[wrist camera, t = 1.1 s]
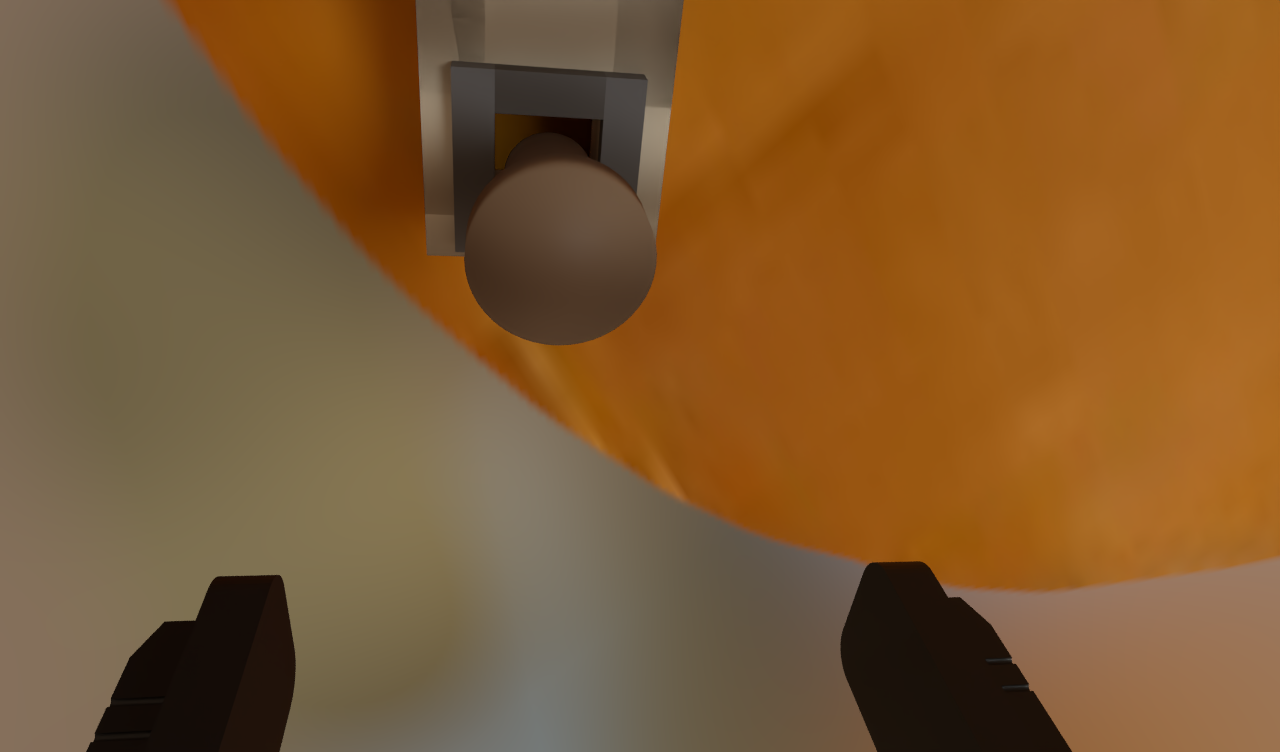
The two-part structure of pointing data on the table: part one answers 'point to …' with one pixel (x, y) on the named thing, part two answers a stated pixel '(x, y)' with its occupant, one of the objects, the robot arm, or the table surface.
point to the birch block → (540, 91)
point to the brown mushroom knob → (558, 245)
